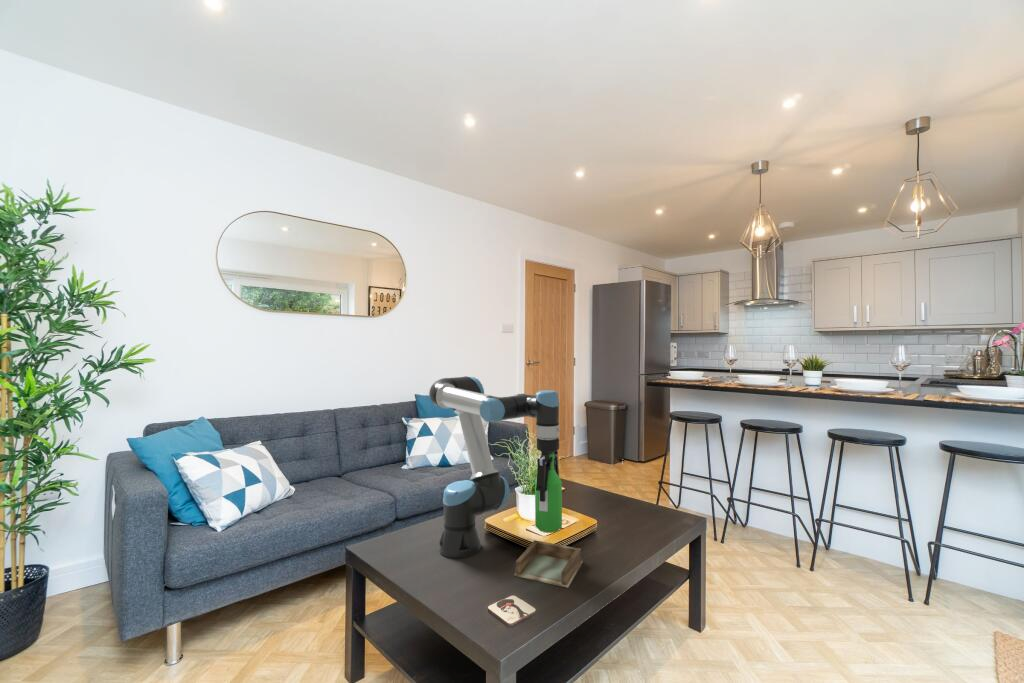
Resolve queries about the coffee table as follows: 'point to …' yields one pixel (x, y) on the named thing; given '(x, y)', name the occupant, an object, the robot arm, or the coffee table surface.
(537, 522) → the bottle
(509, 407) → the robot arm
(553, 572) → the u rest
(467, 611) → the coffee table surface
